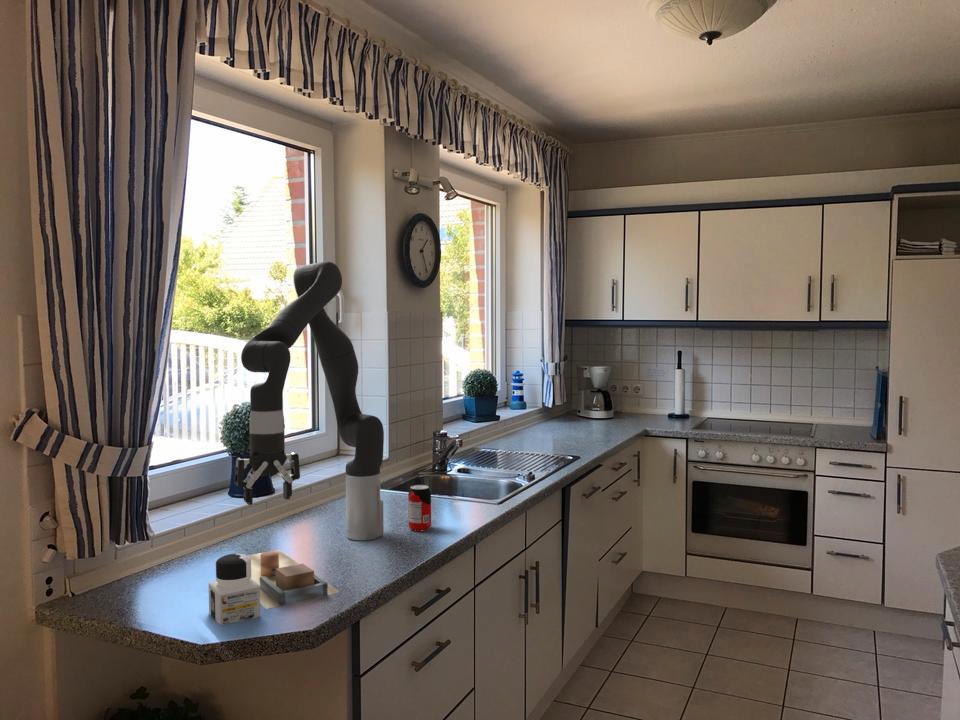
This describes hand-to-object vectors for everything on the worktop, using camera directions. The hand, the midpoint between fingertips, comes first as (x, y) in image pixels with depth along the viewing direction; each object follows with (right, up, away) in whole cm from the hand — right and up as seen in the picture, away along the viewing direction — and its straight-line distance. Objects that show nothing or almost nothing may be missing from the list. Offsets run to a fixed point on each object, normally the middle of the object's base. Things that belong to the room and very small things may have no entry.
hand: (268, 501), depth 172 cm
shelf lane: (+1, -18, -1) cm, 18 cm away
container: (0, -20, -23) cm, 30 cm away
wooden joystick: (+5, -17, -6) cm, 18 cm away
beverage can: (+31, -16, +42) cm, 55 cm away
